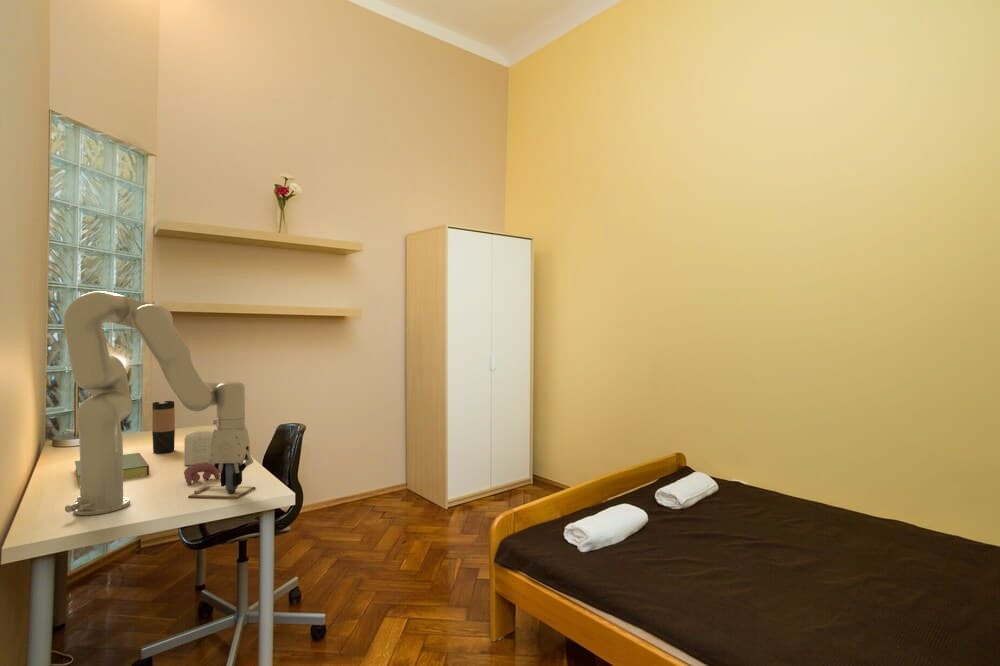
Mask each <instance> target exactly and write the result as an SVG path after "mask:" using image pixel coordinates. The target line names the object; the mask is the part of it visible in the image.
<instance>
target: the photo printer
mask: <svg viewBox="0 0 1000 666" xmlns="http://www.w3.org/2000/svg"><path fill="white" fill-rule="evenodd" d="M213 431H214V430H208V429H207V430H206V429H199V430H192V431H191V432H187V433H186V434H185V437H184V455H183V456H184V457H183V458H184V463H183V464H184V466H185V465H187V466H191V465H194V464H196V463H202V462H208V463H209V460H210V454H211V441H212V436H213Z"/></svg>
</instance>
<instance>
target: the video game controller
mask: <svg viewBox="0 0 1000 666" xmlns="http://www.w3.org/2000/svg"><path fill="white" fill-rule="evenodd" d="M183 471H184V472H183V476H184V479H185V482H186V484H187V485H188V486H191V485H192V483H193V482H194V481H196V482H198V481H199V480H200V479H201V475H200V474H199V473H203V474H202V479H203V480H205V479H207V480H209V479H210V478H211V477H212V475H213V477H214V478H215V479H216V480H217V479H219V480H220V473H219V472H218V469H217V468H216V467H215V466H214V465H212V464H210V463H208V462H202V463H196V464H194V465H188V467H186V468H185V470H183Z"/></svg>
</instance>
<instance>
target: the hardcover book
mask: <svg viewBox="0 0 1000 666" xmlns="http://www.w3.org/2000/svg"><path fill="white" fill-rule="evenodd" d="M74 464H75V472H77V473H76V476H78V477H77V481H79V482H78V486H79V485H80V460H75V461H74ZM141 475H145V476H149V475H150V465H149V463H148V462H147V461H146V459H145V458H144V457H143V455H142V454H141V453H140V452H136V453H135V452H134V453H127V454H123V480H125V479H124V478H126V479H130V478H131V477H132V478H137V477H136V476H138V477H142V476H141Z"/></svg>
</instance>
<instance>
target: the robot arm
mask: <svg viewBox="0 0 1000 666" xmlns="http://www.w3.org/2000/svg"><path fill="white" fill-rule="evenodd" d="M173 318H174V317H173V315H172V313H171V311H170V310H168V309H167V308H166V307H164V306H162V305H159V304H154V303H150V302H146V301H143V300H140V299H136V298H132V297H129V296H125V295H121V294H118V293H115V292H108V291H104V290H103V291H101V290H97V291H91V292H86V293H85V294H82V295H80V296H79V297H77V298H76V299H75V300H73V301H72V302H71V303H70V304H69V305H68V307H67V309H66V310H65V313H64V316H63V330H64V334H65V338H66V343H67V349H68V355H69V359H70V360H69V361H70V366H71V369H72V370H71V371H72V377H73V380H74V382H75V384H76V385H77V386H78V387H80V388H81V389H82V390H88V391H89V392H90V396H89V397H88V398H86V399H84V400H83V402H82V403H80V405H79V406H78V408H77V411H76V416H75V417H76V420H75V421H76V427H77V431H78V440H79V461H80V486H79V488H80V489H79V494H80V495H79V496H77V498H76V499H77V500H76V501H75V502H72V503H71V504H70V503H69V504H67V505H66V506H65V507H64V511H65V512H66V513H71V512H72V513H73V514H74V515H77V516H95V515H102V514H106V513H112V512H115V511H119V510H122V509H123V508H126V507H127V506H129V505H130V504H131V499H130V498H129V497H127V496H124V479H123V455H124V449H123V448H124V446H123V444H124V443H123V433H122V432H123V431H122V426H121V422H122V421H123V420H125V419H126V418H127V417H128V416H129V415H130V413H131V412H132V407H133V402H132V401H133V400H132V395H131V392H130V391H131V390H130V385H129V381H128V375H127V371H126V368H125V366H124V363H123V362H122V361H121V360H120V359H119V358H117V357H116V356H115V355H111V354H110V353H109V348H108V341H107V337H106V334H105V332H104V329H103V325H104V323H111V324H115V325H120V326H124V327H127V328H132V329H134V330H135V331H136V332H137V333H138V335H139V336H140V338H141V339H142V340H143V342H144V343H145V344H146V347H147V348H148V349H149V350H150V352H151V354H152V355H153V356H154V358H155V359H156V361H157V362H158V364H159V368H160V370H161V371H162V373H163V375H164V377H165V379H166V381H167V383H168V384H169V387H170V388H171V390H172V391H173V393H174V394H175V395H176V396H177V398H178V399H179V401H180V402H181V404H182V405H183V406H184V407H185V408H186V409H187V410H189V411H192V412H201V411H204V410H207V409H209V408H210V407H213V406H216V419H213V421H212V424H213V425H215V428H214V429H213V430H212V431H213V436H212V441H211V454H210V460H209V463H210V464H212V465H214V466H215V467H216V468H217V469H218V472H219V474H220V478H219V480H220V486H225V464H234V467H235V473H234V474H233V486H234V487H236V486H237V487H239V486H240V485H242V482H243V472H244V470H245V469H246V468H247V467H249V466H250V465H252V464H254V459H253V458H252V456H251V444H250V443H251V442H250V436H249V435H250V434H249V430H248V428H247V427H246V412H245V410H246V409H245V408H246V406H245V405H246V393H245V391H246V388H245V384H244V383H243V382H238V381H235V382H234V381H233V382H232V381H229V382H222V383H221V382H211V381H210V382H209V381H203V379H202V378H201V376H200V375H199V373H198V372H197V370H196V369H195V367H194V364H193V363H192V362H193V361H192V358H191V357H192V356H191V352H190V351H191V349H190V347H189V345H188V344H187V343H186V341H185V340H184V338H183V336H182V335H181V334H180V332H179V331H178V330H177V328H176V326H175V325H174V319H173ZM244 461H245V462H244Z"/></svg>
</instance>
